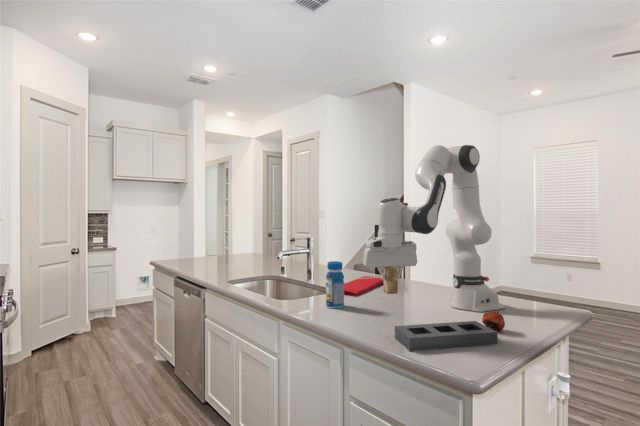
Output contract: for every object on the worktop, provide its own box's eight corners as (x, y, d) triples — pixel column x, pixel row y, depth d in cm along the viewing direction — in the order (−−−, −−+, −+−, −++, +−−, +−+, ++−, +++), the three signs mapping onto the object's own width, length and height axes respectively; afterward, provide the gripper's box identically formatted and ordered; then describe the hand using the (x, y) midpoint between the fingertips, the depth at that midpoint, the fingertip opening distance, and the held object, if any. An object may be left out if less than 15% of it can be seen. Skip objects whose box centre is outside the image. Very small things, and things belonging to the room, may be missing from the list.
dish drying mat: (329, 294, 192) (328, 287, 192) (362, 281, 227) (362, 275, 227) (356, 297, 184) (356, 290, 184) (386, 283, 218) (386, 277, 218)
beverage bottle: (341, 309, 160) (341, 263, 160) (323, 307, 163) (322, 263, 163) (346, 304, 168) (346, 261, 168) (329, 303, 171) (329, 260, 170)
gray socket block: (475, 332, 129) (475, 320, 129) (497, 344, 117) (497, 331, 117) (394, 337, 124) (394, 326, 124) (409, 351, 112) (409, 338, 112)
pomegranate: (500, 342, 126) (514, 320, 129) (489, 326, 124) (503, 305, 128) (482, 337, 132) (496, 317, 136) (472, 323, 131) (486, 303, 135)
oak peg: (393, 291, 138) (393, 264, 138) (397, 293, 134) (397, 266, 134) (383, 291, 138) (383, 265, 138) (387, 294, 134) (387, 266, 134)
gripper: (412, 240, 141) (413, 276, 141) (361, 241, 137) (362, 278, 137) (419, 241, 135) (420, 279, 135) (366, 243, 131) (367, 281, 131)
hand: (390, 278), depth 136 cm, fingers closed on oak peg, 4 cm apart
